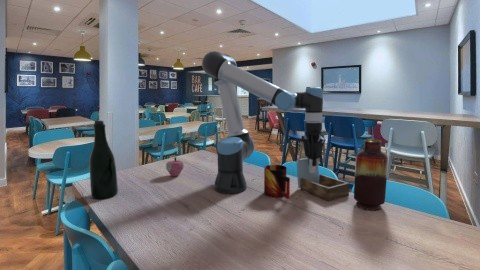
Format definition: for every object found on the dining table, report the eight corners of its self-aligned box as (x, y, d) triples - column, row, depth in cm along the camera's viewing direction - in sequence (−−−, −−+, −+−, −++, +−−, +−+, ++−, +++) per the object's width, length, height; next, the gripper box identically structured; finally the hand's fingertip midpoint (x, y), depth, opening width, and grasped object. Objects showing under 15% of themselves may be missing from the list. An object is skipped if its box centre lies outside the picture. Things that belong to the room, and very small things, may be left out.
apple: (164, 175, 147) (163, 157, 145) (178, 172, 153) (177, 155, 151) (172, 179, 140) (171, 160, 138) (187, 176, 146) (186, 158, 144)
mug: (288, 201, 110) (289, 173, 108) (260, 194, 118) (260, 168, 116) (298, 194, 117) (299, 168, 116) (271, 188, 126) (271, 163, 124)
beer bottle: (122, 195, 118) (116, 120, 113) (96, 201, 111) (89, 122, 106) (112, 189, 125) (107, 119, 120) (87, 195, 118) (81, 120, 113)
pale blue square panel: (296, 159, 124) (297, 160, 123) (316, 156, 131) (317, 156, 130) (298, 187, 125) (299, 188, 124) (317, 182, 131) (319, 183, 130)
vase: (347, 203, 108) (350, 139, 104) (367, 199, 112) (371, 137, 108) (369, 214, 98) (374, 143, 94) (391, 209, 102) (396, 141, 98)
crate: (300, 190, 123) (300, 178, 122) (320, 185, 130) (320, 174, 129) (328, 201, 110) (328, 188, 109) (348, 195, 116) (349, 183, 116)
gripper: (330, 122, 118) (328, 174, 121) (309, 120, 129) (307, 168, 132) (318, 123, 114) (316, 177, 117) (297, 121, 125) (296, 170, 128)
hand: (312, 172), depth 125 cm, fingers closed
